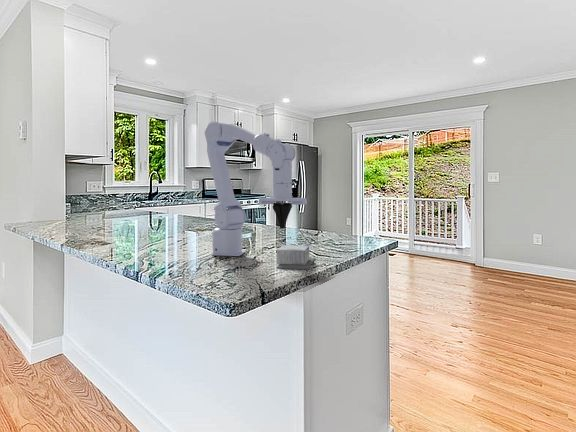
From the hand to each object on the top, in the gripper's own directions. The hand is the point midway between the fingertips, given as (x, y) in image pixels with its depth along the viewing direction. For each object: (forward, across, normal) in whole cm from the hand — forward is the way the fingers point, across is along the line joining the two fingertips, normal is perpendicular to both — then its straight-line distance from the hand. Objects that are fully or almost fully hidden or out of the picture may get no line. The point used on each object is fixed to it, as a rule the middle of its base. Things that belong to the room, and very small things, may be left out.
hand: (282, 228), depth 113 cm
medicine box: (+8, -1, -2) cm, 8 cm away
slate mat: (+10, +5, -2) cm, 12 cm away
